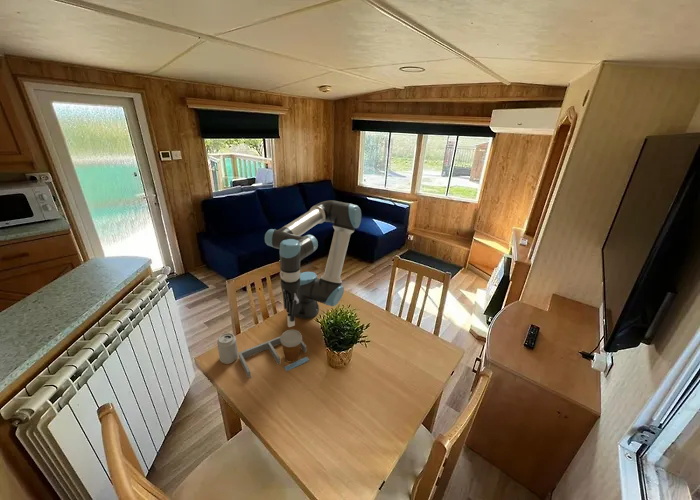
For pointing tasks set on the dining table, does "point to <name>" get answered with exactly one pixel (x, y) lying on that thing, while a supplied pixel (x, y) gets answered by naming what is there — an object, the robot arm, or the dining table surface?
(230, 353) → the can
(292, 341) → the disposable coffee cup
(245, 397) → the dining table surface
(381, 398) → the dining table surface
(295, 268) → the robot arm
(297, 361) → the blue rectangular block
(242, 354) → the comb rack
